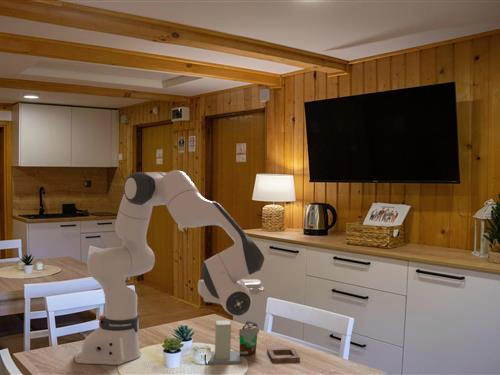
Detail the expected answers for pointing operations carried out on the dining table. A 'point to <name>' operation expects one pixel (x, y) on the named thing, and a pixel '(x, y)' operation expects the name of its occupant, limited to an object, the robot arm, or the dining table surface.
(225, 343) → the sage block
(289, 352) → the board
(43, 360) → the dining table surface
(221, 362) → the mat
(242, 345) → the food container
